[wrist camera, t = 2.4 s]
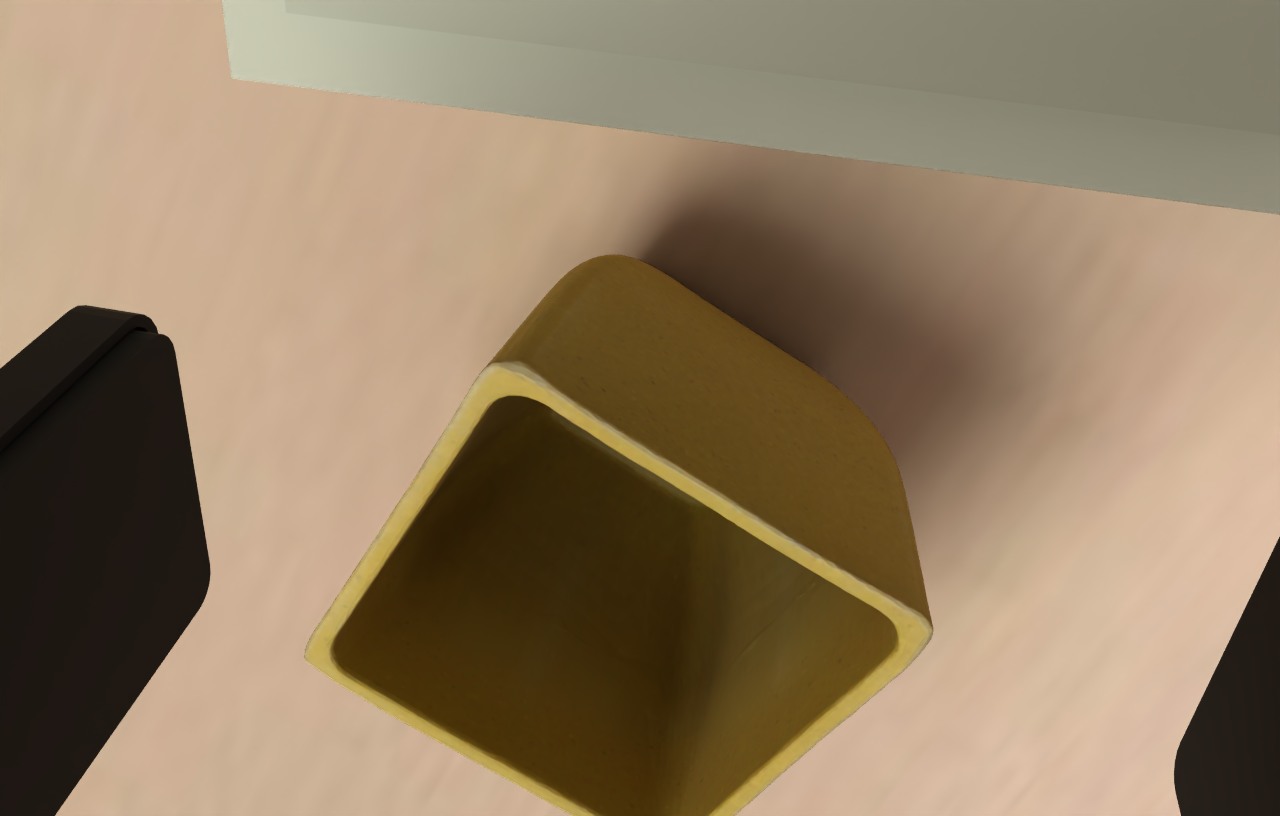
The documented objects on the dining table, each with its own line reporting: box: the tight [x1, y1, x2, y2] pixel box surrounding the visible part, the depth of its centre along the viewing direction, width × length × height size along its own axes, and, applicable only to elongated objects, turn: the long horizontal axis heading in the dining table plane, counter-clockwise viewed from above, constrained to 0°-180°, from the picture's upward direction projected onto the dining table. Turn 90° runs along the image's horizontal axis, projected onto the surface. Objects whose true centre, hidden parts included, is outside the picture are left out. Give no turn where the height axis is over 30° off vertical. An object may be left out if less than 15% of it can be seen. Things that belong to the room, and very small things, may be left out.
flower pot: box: [304, 255, 933, 816], centre depth 25 cm, size 9×9×9 cm
